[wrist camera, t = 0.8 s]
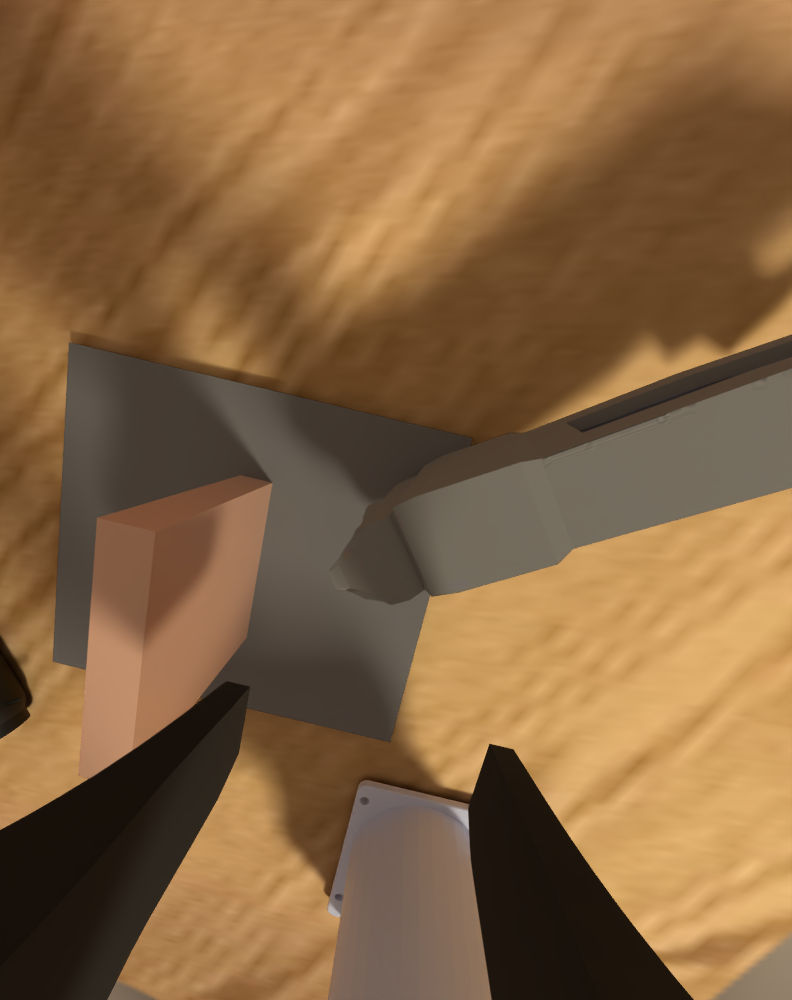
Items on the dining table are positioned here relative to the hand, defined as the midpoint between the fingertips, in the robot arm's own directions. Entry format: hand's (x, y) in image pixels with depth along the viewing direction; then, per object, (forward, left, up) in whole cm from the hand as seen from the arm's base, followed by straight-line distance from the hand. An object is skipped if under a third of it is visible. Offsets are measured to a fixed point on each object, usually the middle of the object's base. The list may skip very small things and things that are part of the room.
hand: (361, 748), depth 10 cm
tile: (0, +7, -9) cm, 11 cm away
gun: (+11, -9, -9) cm, 17 cm away
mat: (0, +7, -9) cm, 12 cm away
